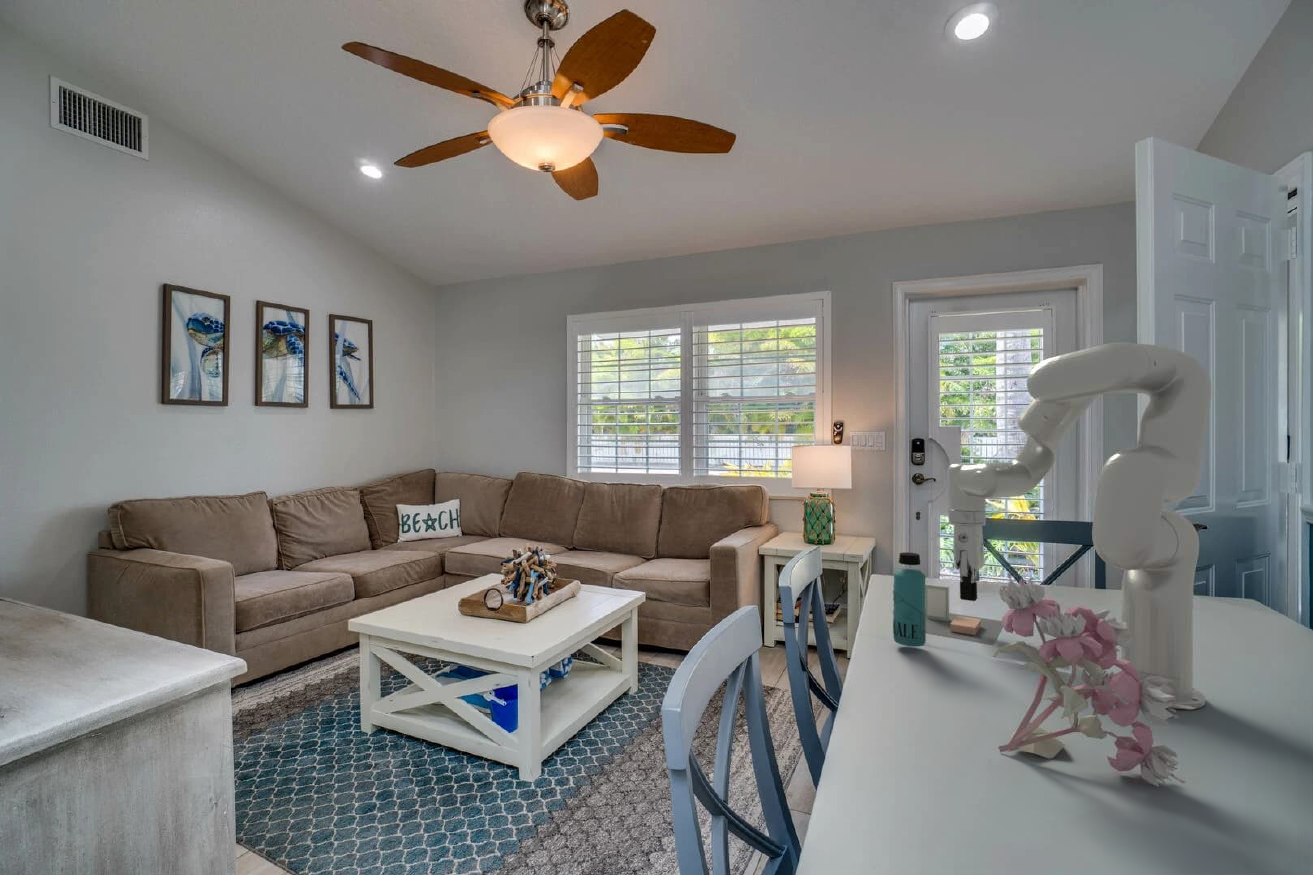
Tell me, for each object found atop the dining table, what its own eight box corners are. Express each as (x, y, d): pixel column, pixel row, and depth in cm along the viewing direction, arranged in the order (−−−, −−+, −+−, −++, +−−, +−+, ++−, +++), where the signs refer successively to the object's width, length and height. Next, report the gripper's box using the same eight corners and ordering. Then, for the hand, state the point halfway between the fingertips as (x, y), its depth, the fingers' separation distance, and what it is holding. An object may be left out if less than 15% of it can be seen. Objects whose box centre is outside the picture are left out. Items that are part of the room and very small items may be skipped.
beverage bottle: (920, 644, 132) (920, 550, 132) (931, 655, 125) (931, 556, 125) (888, 643, 132) (888, 549, 132) (897, 654, 126) (897, 555, 126)
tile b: (947, 621, 145) (947, 587, 145) (925, 618, 148) (925, 584, 148) (949, 619, 147) (949, 586, 147) (926, 616, 150) (926, 583, 150)
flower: (1072, 818, 69) (1165, 616, 70) (930, 712, 91) (1002, 558, 91) (1180, 860, 75) (1265, 673, 76) (1023, 750, 96) (1090, 606, 97)
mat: (993, 647, 129) (993, 644, 129) (894, 630, 141) (894, 627, 141) (1005, 624, 146) (1005, 621, 146) (915, 610, 157) (915, 607, 157)
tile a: (981, 626, 141) (975, 636, 135) (957, 623, 144) (950, 631, 138) (981, 619, 141) (975, 627, 135) (957, 615, 144) (950, 623, 138)
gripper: (980, 522, 132) (982, 609, 131) (990, 515, 144) (992, 595, 143) (941, 520, 136) (943, 604, 136) (955, 514, 148) (956, 591, 148)
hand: (968, 599), depth 139 cm, fingers closed
